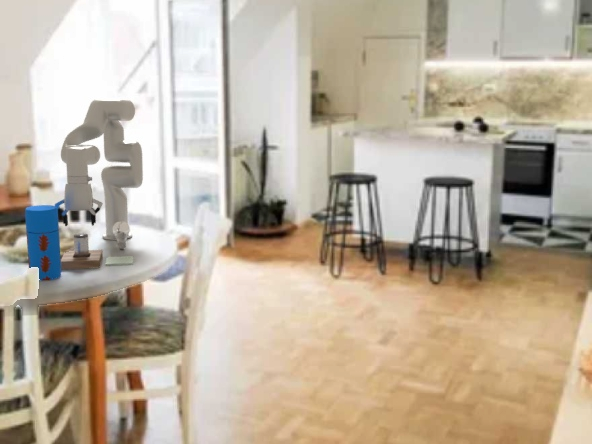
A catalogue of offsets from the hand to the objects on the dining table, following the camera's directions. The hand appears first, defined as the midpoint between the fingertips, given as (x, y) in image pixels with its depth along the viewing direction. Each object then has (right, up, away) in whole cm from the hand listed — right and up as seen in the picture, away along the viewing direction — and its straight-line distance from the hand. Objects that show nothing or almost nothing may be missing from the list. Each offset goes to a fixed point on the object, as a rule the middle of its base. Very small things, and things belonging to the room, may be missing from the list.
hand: (79, 225), depth 275 cm
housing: (0, -14, +4) cm, 15 cm away
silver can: (0, -14, +4) cm, 15 cm away
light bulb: (+10, -10, +24) cm, 28 cm away
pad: (+14, -14, +6) cm, 21 cm away
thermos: (-8, -18, -15) cm, 25 cm away
